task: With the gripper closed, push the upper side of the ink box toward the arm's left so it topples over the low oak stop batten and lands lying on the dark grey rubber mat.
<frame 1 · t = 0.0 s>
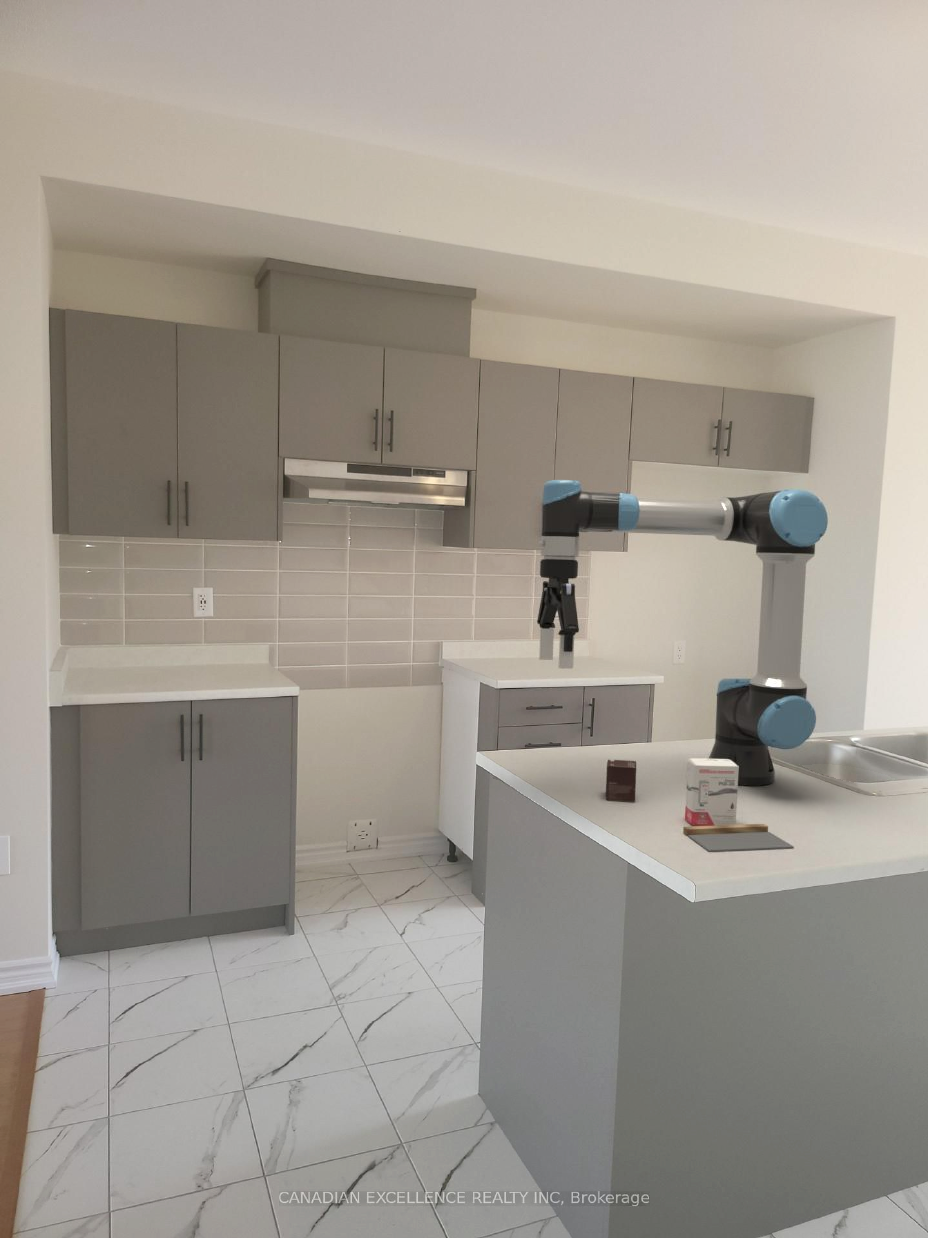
hand: (555, 663, 175), 28 cm above the countertop, fingers open, 13 cm apart
box: (620, 798, 181), on the countertop
ink box: (709, 823, 165), on the countertop
mat: (740, 842, 154), on the countertop
batten: (725, 833, 159), on the countertop
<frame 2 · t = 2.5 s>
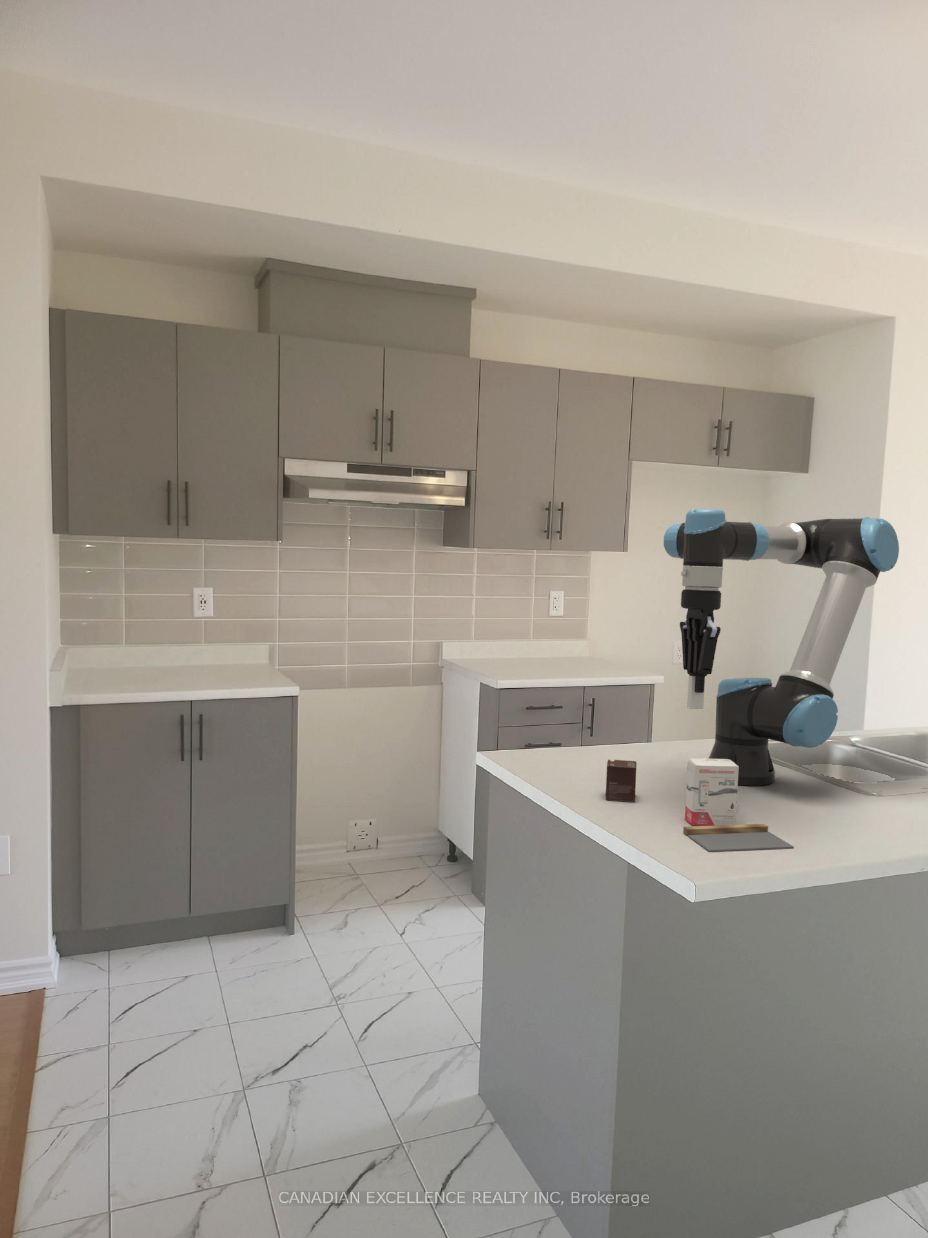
hand: (695, 708, 171), 21 cm above the countertop, fingers closed
nothing on the countertop moved.
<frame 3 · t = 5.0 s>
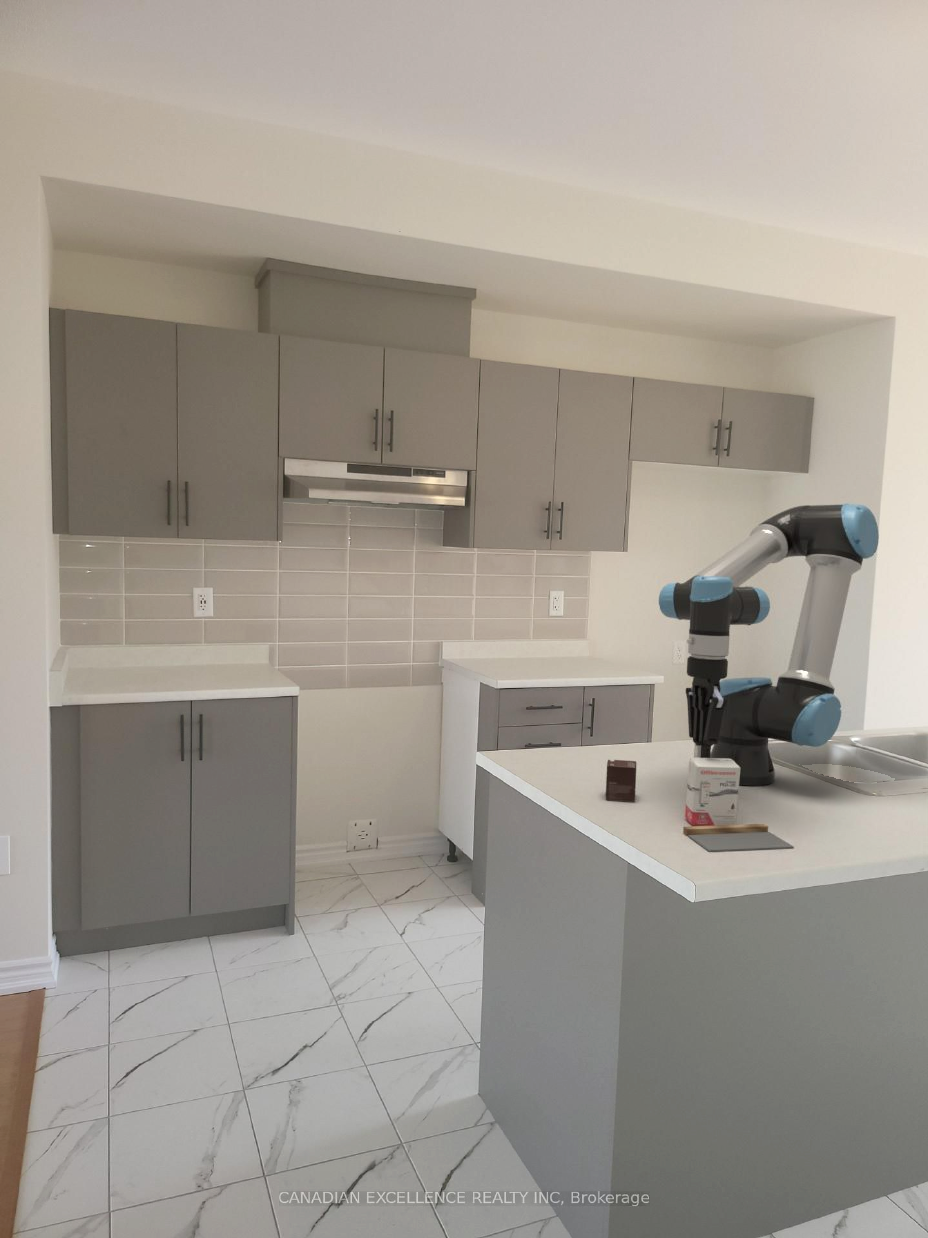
hand: (700, 777, 168), 8 cm above the countertop, fingers closed
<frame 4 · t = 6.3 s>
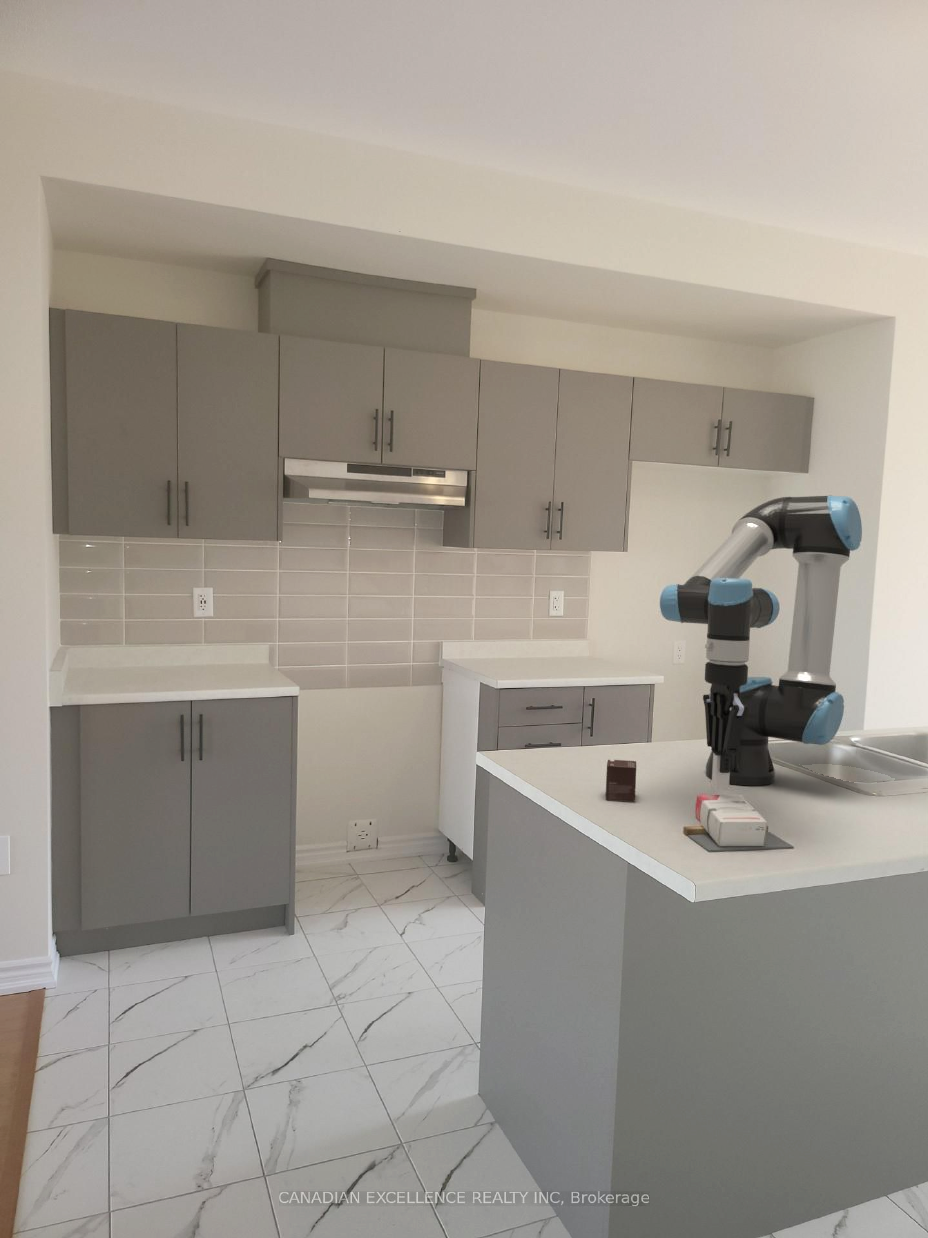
hand: (720, 788, 161), 8 cm above the countertop, fingers closed
ink box: (717, 805, 162), point 4 cm above the countertop, touching batten, mat
everything else where it was.
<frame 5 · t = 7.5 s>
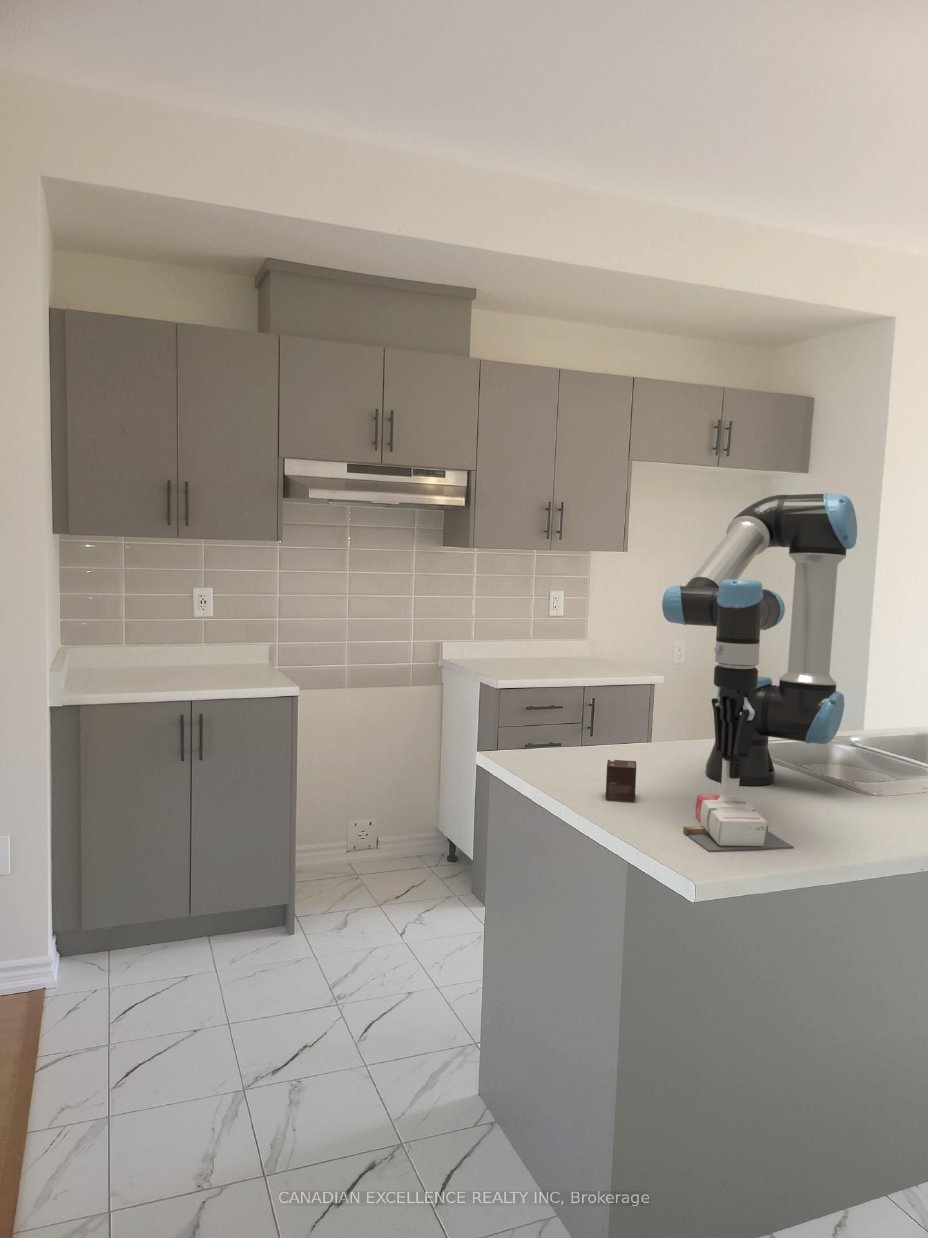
hand: (729, 794, 158), 7 cm above the countertop, fingers closed
nothing on the countertop moved.
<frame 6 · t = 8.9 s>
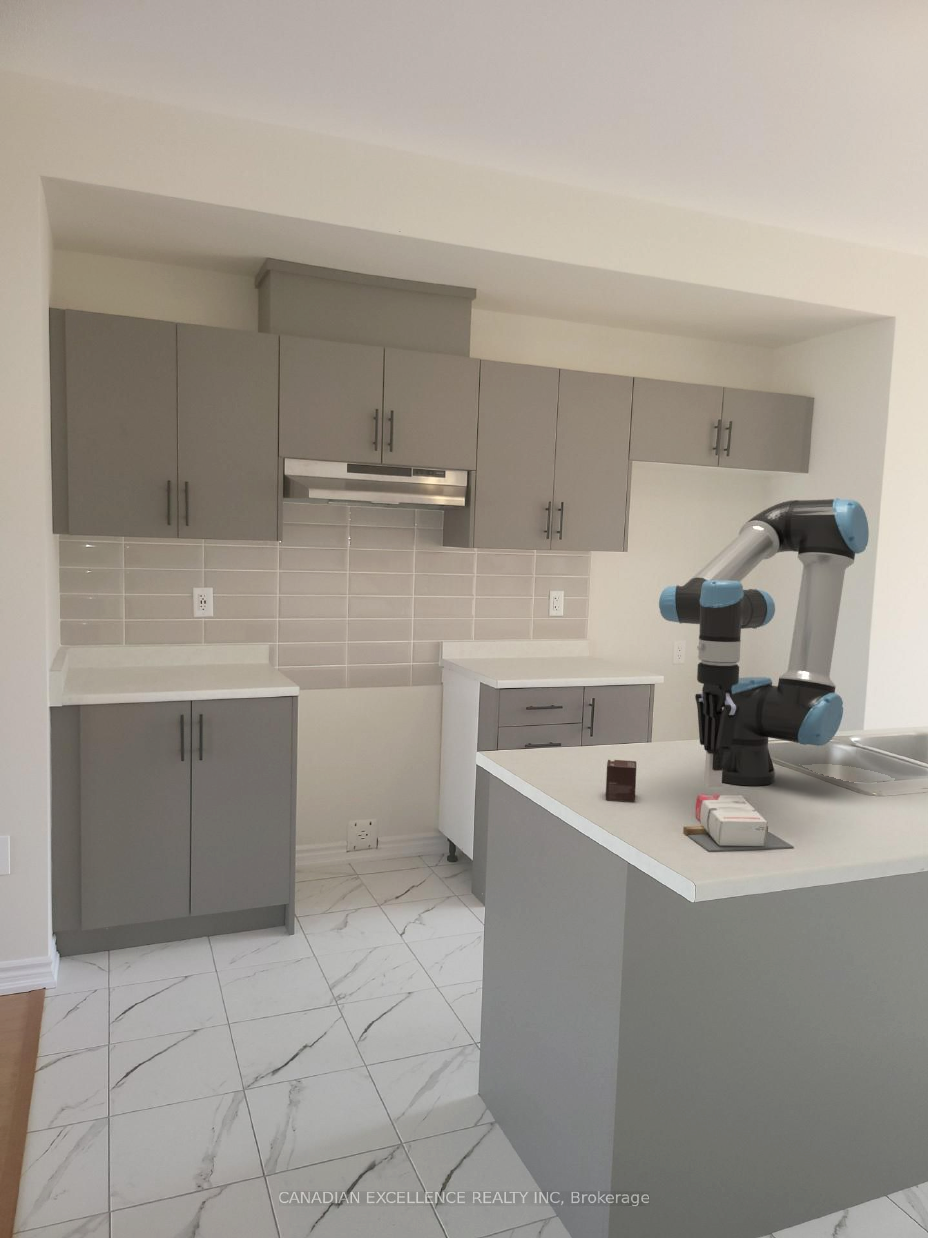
hand: (713, 785, 165), 7 cm above the countertop, fingers closed
nothing on the countertop moved.
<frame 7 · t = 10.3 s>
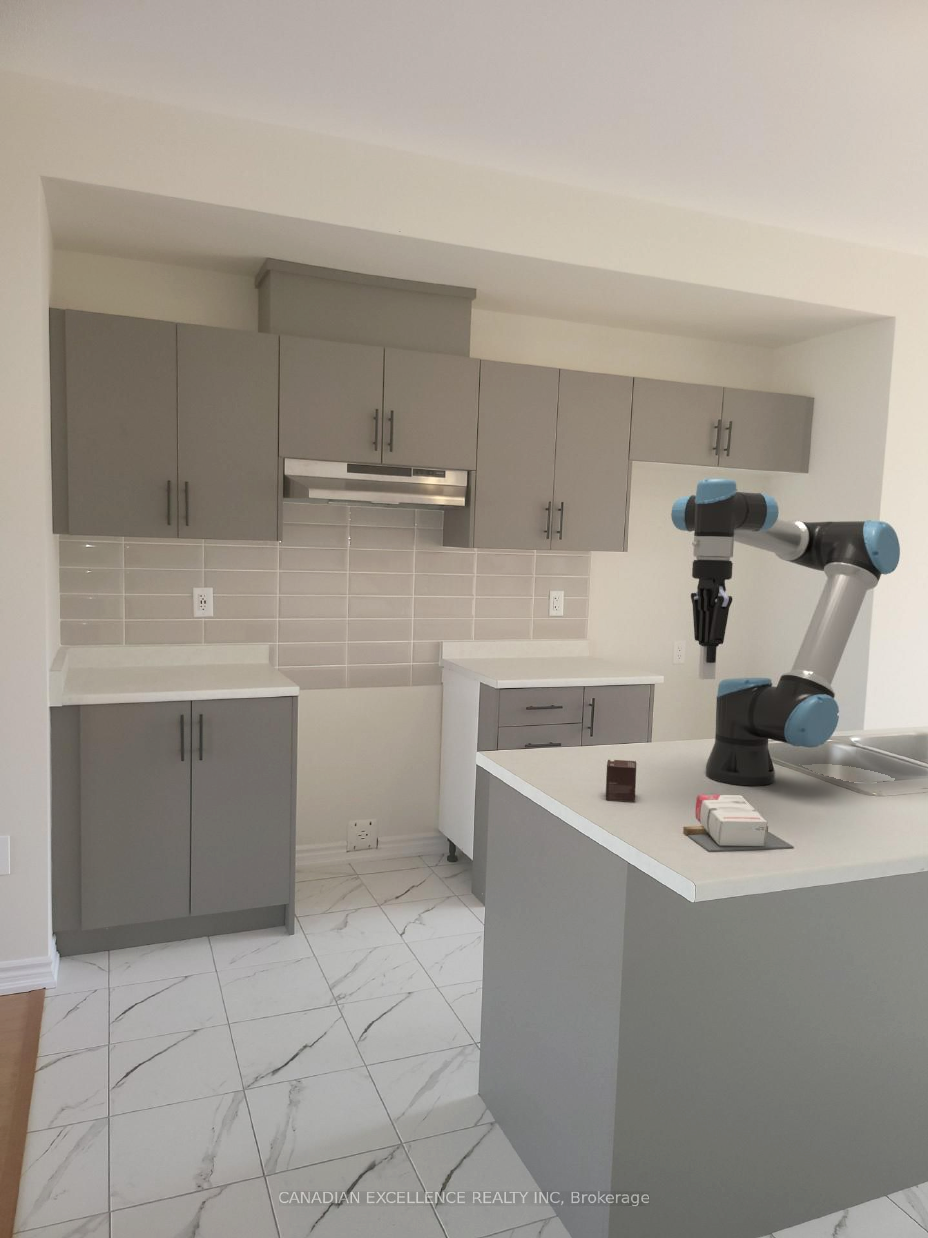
hand: (706, 678, 171), 26 cm above the countertop, fingers closed
nothing on the countertop moved.
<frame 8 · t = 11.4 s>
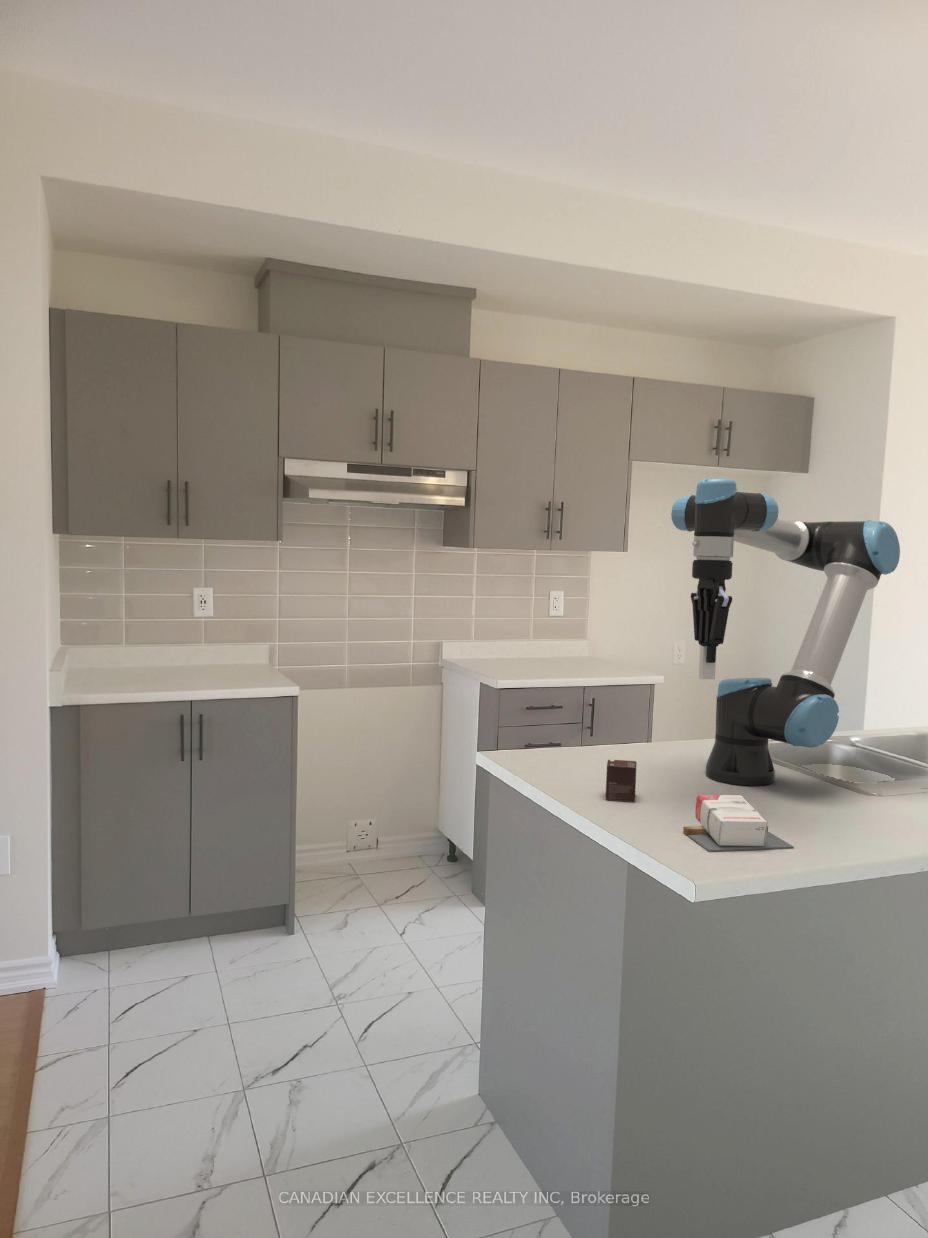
hand: (706, 678, 171), 26 cm above the countertop, fingers closed
nothing on the countertop moved.
at the end: ink box tilted 97°; ink box inside the target area (3.4 cm from its centre), point 4.1 cm above the countertop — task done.
